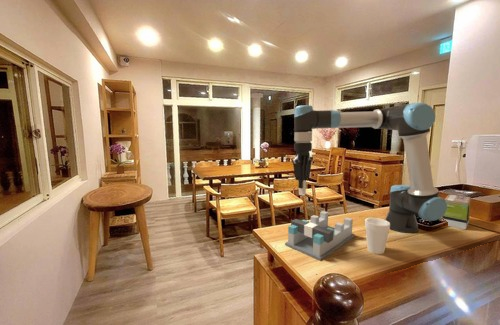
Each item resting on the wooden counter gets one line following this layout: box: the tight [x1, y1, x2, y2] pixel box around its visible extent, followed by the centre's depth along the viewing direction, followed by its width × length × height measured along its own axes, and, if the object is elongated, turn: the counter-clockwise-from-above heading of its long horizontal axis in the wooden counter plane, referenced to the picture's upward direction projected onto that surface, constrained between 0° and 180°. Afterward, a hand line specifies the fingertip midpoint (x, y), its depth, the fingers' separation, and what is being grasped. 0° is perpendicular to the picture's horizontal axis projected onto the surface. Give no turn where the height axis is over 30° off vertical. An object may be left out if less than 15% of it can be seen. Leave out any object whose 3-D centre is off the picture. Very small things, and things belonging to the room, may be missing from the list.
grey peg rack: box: [284, 210, 356, 262], centre depth 109 cm, size 18×32×9 cm, turn 132°
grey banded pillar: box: [290, 218, 333, 243], centre depth 103 cm, size 19×5×5 cm, turn 43°
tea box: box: [442, 194, 472, 231], centre depth 127 cm, size 15×10×15 cm, turn 133°
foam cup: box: [364, 217, 391, 255], centre depth 99 cm, size 10×9×13 cm
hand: (302, 194), depth 103 cm, fingers closed
